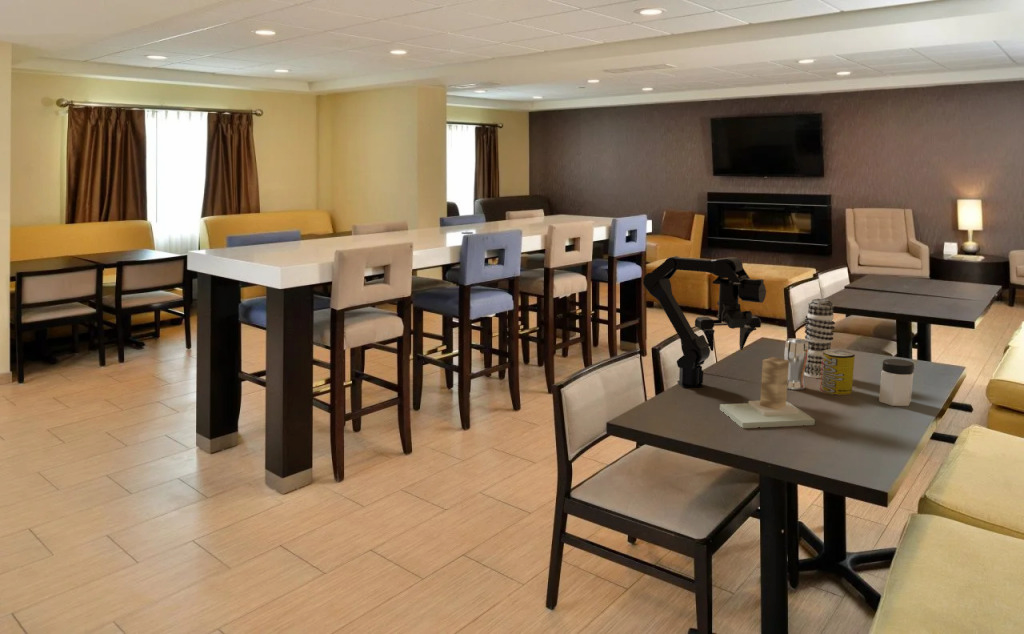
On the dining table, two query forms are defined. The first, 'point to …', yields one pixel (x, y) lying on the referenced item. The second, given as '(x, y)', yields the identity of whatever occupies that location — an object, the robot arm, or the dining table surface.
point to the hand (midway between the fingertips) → (726, 350)
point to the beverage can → (837, 371)
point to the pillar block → (774, 383)
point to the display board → (765, 415)
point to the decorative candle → (818, 334)
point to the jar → (896, 382)
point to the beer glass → (796, 362)
